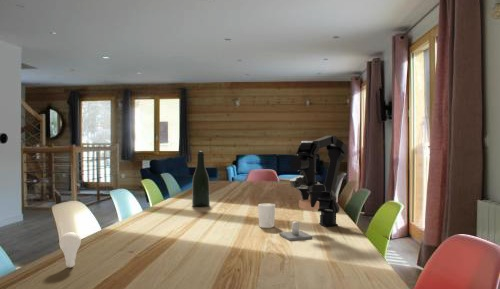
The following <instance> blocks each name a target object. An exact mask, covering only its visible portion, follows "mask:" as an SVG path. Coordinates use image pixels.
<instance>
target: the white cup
mask: <svg viewBox="0 0 500 289" xmlns="http://www.w3.org/2000/svg"><path fill="white" fill-rule="evenodd" d="M257 213H258V225H259V226H258V227H259V228H262V229H272V228H274V227H275V220H276V219H275V218H276V217H275V215H276V204H275V203H269V202H267V203H264V202H263V203H259V204H257Z"/></svg>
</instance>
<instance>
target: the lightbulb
mask: <svg viewBox="0 0 500 289" xmlns="http://www.w3.org/2000/svg"><path fill="white" fill-rule="evenodd" d="M81 243H82V239H81V237H80V235H79V234H78V233H77V232H74V231H73V232H71V231H70V232H66V233H64V234H63V235H62V236H61V237H60V238H59V243H58V244H59V247H60V249H61V250H62V252H63V254H64V255H63V256H64V259H65V266H66V267H68V268H69V269H70V268H73V266H74V267H75V265H76V258H77V252H78V250H79V248H80V246H81Z"/></svg>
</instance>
